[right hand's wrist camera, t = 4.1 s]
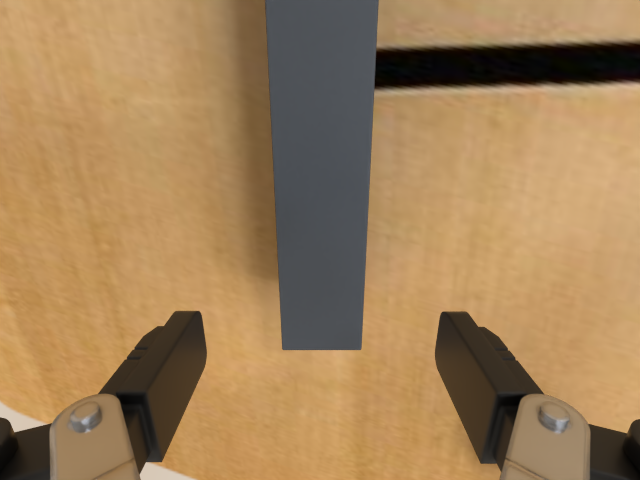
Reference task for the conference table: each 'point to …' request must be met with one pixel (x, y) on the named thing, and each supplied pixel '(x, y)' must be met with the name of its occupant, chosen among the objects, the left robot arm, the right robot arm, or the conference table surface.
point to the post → (321, 164)
